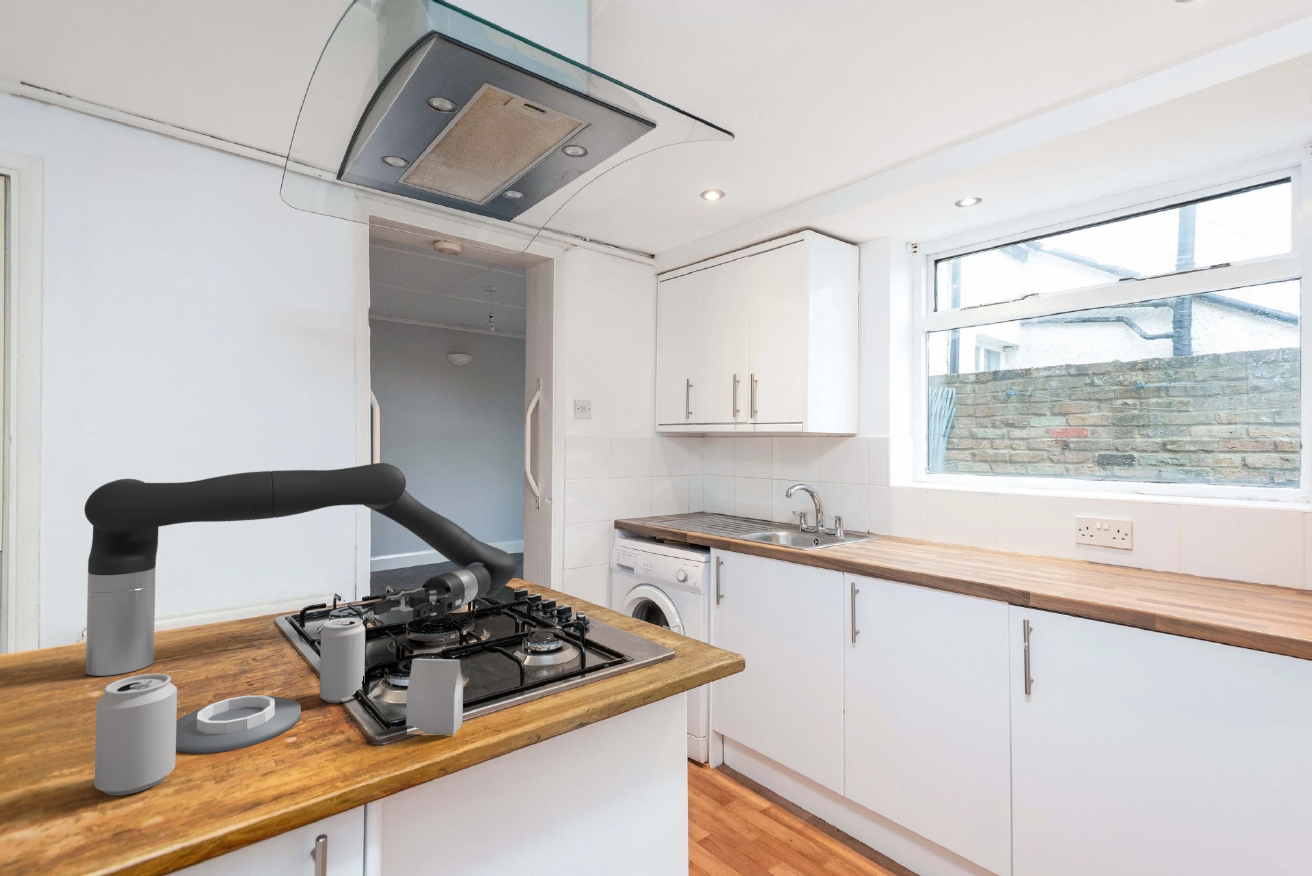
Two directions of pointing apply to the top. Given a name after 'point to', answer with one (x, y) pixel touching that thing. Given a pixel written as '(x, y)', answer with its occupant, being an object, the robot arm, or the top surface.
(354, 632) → the beverage can
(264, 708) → the dock
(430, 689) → the grey printed carton
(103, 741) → the can
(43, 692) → the top surface
